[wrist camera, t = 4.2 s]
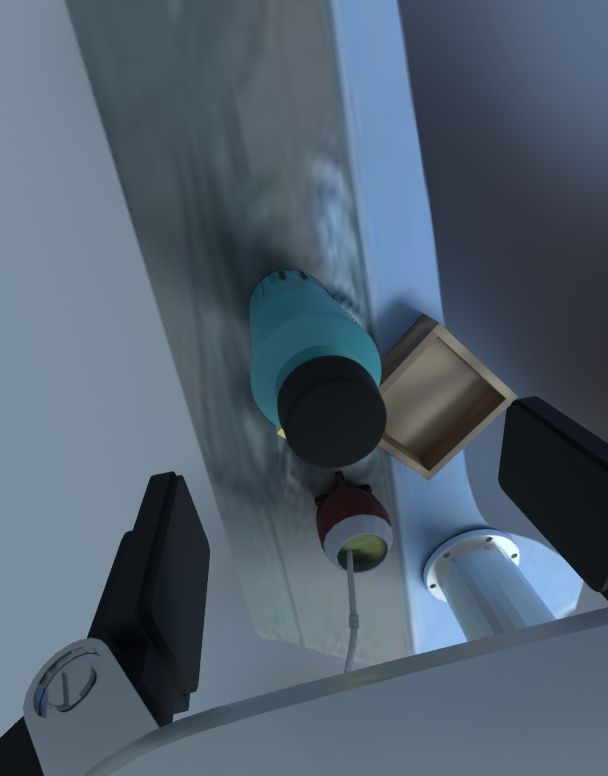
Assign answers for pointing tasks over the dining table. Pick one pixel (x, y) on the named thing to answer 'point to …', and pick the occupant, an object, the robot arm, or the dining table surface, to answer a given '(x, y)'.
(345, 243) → the dining table surface
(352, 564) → the mate gourd
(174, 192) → the dining table surface
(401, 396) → the tray
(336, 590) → the dining table surface
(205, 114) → the dining table surface
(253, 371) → the beverage bottle
